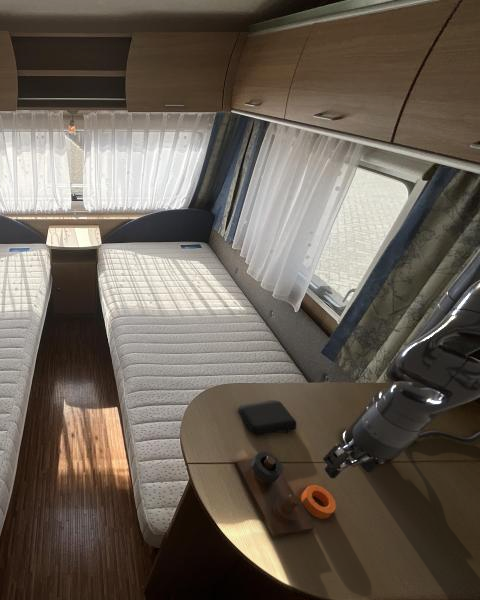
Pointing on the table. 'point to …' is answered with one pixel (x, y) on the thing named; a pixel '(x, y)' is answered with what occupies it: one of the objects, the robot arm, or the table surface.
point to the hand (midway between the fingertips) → (347, 471)
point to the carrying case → (267, 417)
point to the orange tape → (323, 497)
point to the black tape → (264, 473)
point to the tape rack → (274, 500)
